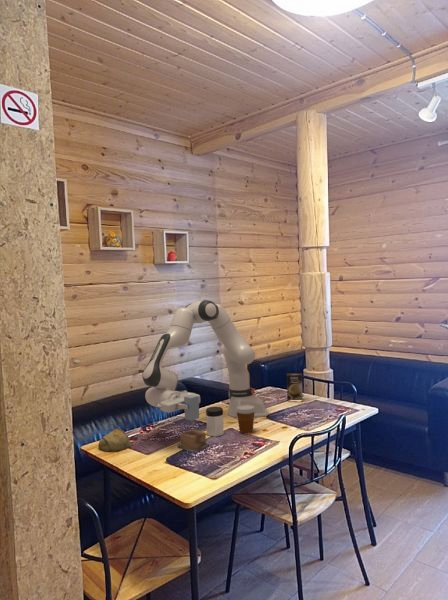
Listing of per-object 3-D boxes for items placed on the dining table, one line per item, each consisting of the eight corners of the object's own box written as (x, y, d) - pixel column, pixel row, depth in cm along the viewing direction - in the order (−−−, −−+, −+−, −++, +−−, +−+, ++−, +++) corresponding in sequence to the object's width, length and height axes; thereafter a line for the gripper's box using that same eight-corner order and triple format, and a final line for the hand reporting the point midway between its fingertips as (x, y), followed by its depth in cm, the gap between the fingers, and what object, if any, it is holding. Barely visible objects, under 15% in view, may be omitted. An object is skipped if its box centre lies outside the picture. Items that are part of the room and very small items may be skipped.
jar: (211, 438, 206) (210, 412, 206) (202, 433, 213) (201, 408, 212) (227, 433, 211) (226, 409, 210) (218, 429, 218) (217, 405, 217)
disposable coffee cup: (232, 432, 213) (231, 407, 212) (245, 426, 220) (244, 403, 219) (247, 436, 207) (246, 411, 206) (260, 430, 213) (259, 406, 213)
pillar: (192, 416, 199) (191, 394, 198) (199, 418, 196) (198, 396, 195) (184, 419, 195) (184, 396, 195) (191, 420, 192) (191, 398, 192)
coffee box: (287, 402, 262) (286, 375, 261) (287, 399, 268) (286, 372, 267) (302, 402, 260) (302, 375, 259) (302, 399, 266) (302, 372, 266)
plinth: (193, 440, 203) (192, 427, 203) (209, 445, 197) (208, 432, 196) (177, 447, 196) (176, 434, 196) (193, 452, 189) (192, 438, 189)
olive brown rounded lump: (135, 443, 204) (134, 426, 203) (123, 453, 192) (122, 435, 191) (108, 441, 207) (107, 424, 207) (94, 451, 195) (93, 433, 195)
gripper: (154, 399, 196) (175, 403, 187) (187, 389, 211) (208, 393, 202) (154, 413, 196) (175, 418, 187) (188, 402, 212) (208, 407, 202)
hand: (192, 405), depth 195 cm, fingers closed on pillar, 4 cm apart
